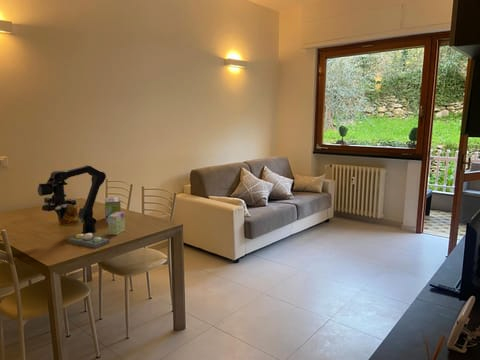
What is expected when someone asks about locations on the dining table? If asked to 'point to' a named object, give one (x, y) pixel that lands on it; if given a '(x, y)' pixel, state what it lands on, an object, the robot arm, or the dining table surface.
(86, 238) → the cream button
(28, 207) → the dining table surface
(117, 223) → the box
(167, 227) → the dining table surface
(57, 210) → the robot arm
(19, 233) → the dining table surface
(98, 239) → the sage button
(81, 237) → the mustard button
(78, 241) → the button panel
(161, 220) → the dining table surface
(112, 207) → the tea box
